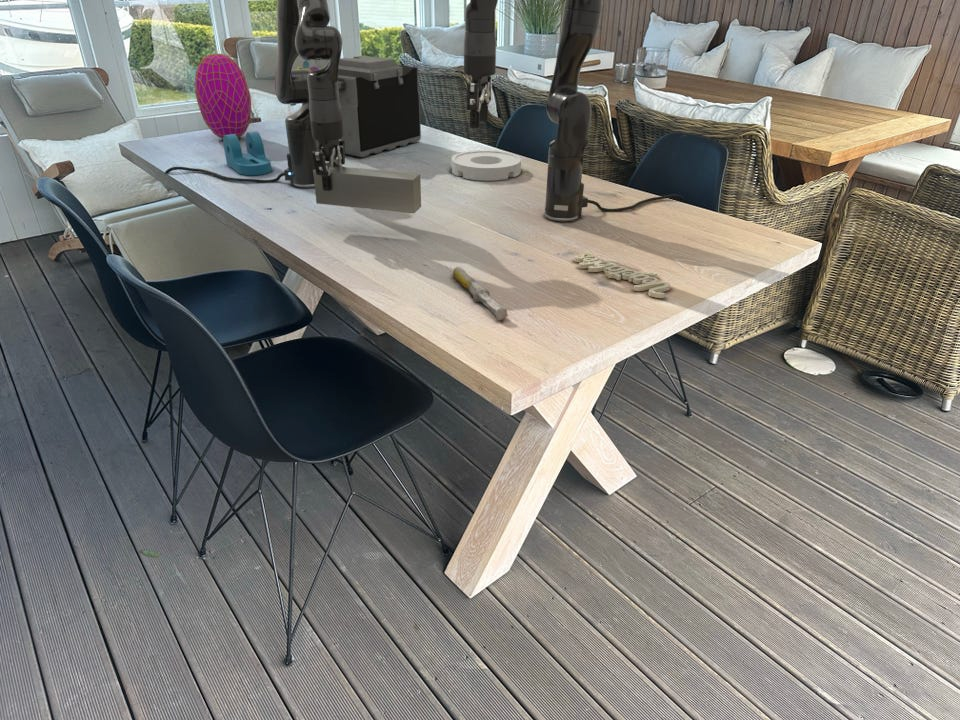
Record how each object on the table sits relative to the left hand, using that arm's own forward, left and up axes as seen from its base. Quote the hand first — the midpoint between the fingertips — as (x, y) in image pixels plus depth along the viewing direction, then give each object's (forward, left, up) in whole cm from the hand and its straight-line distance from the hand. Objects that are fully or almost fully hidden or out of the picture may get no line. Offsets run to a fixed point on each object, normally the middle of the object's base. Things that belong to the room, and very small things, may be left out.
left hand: (332, 186), depth 174 cm
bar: (+9, 0, -4) cm, 10 cm away
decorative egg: (-82, +82, -11) cm, 117 cm away
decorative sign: (+75, -11, -11) cm, 76 cm away
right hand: (+35, +11, +15) cm, 40 cm away
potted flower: (-65, +118, -11) cm, 135 cm away
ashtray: (+24, +65, -11) cm, 71 cm away
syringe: (+46, -30, -11) cm, 56 cm away
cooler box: (-25, +87, -11) cm, 92 cm away
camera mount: (-52, +46, -11) cm, 70 cm away
